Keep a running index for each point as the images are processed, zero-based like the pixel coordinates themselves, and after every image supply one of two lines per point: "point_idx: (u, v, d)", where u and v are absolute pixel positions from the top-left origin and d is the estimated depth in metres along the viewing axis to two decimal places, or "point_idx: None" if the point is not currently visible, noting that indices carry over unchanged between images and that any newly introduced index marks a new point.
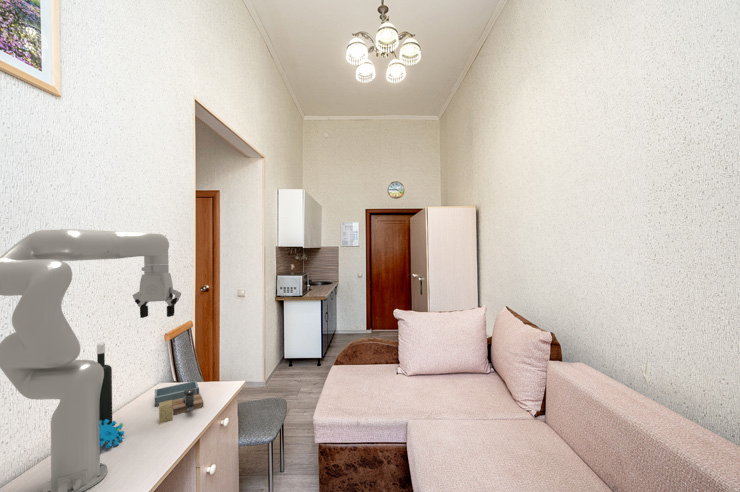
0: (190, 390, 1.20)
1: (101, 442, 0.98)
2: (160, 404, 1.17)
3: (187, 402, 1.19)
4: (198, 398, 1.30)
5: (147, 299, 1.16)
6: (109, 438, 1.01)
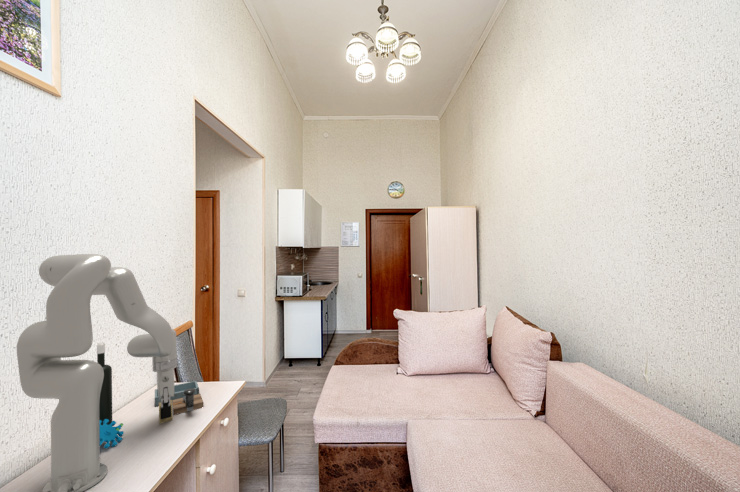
0: (190, 390, 1.20)
1: None
2: (160, 404, 1.17)
3: (187, 402, 1.19)
4: (198, 398, 1.30)
5: None
6: (108, 438, 1.01)
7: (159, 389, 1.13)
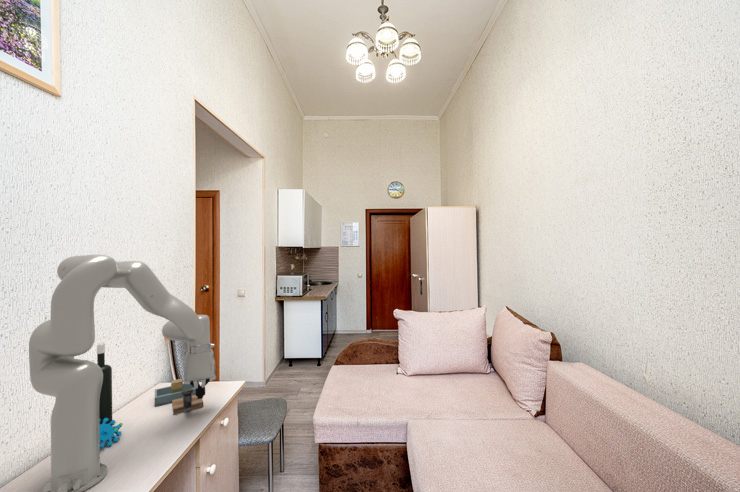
0: (188, 391, 1.20)
1: None
2: (172, 381, 1.36)
3: (184, 403, 1.18)
4: None
5: None
6: (103, 438, 1.01)
7: (212, 367, 1.22)
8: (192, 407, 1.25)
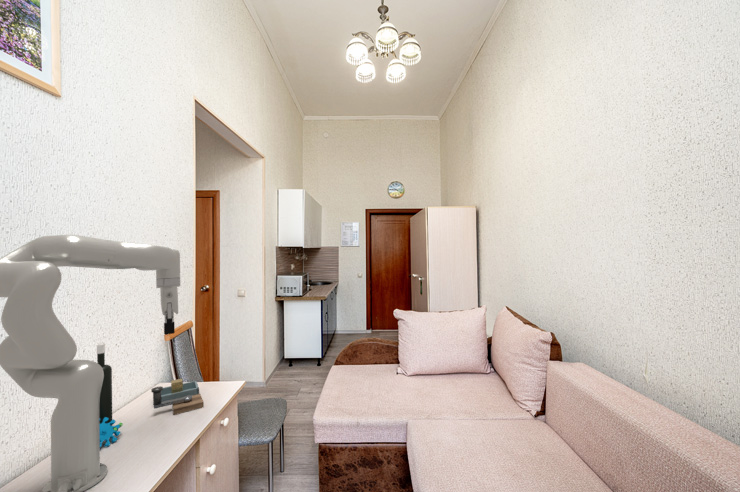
0: (155, 388, 1.23)
1: None
2: (172, 381, 1.36)
3: None
4: (198, 398, 1.30)
5: None
6: (101, 438, 1.02)
7: (163, 304, 1.14)
8: (192, 407, 1.25)
